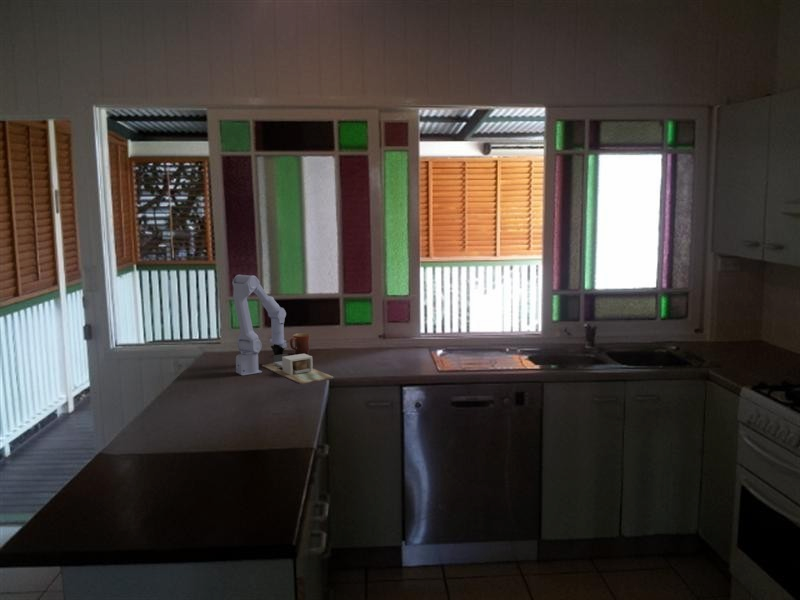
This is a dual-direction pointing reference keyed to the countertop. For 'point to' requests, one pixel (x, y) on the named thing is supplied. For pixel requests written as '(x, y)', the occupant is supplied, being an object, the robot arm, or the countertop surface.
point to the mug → (300, 343)
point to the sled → (278, 361)
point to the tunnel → (289, 359)
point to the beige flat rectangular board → (299, 374)
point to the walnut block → (299, 365)
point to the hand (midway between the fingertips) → (278, 360)
